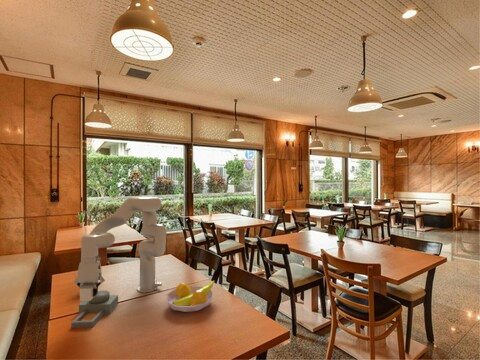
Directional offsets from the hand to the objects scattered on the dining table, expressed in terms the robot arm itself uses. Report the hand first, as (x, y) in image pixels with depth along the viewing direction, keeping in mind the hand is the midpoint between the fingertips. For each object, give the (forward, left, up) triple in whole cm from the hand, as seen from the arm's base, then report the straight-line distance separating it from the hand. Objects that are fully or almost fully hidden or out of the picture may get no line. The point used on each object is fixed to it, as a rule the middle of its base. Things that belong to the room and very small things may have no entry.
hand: (89, 295), depth 133 cm
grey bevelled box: (0, 0, -1) cm, 1 cm away
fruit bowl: (-50, -13, -13) cm, 53 cm away
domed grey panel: (0, -5, -13) cm, 13 cm away
